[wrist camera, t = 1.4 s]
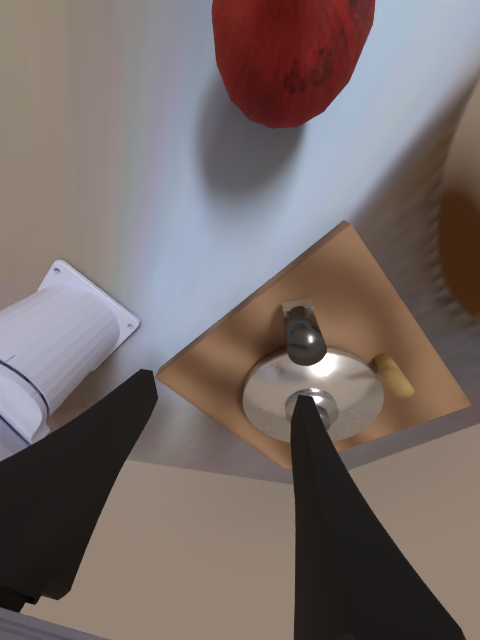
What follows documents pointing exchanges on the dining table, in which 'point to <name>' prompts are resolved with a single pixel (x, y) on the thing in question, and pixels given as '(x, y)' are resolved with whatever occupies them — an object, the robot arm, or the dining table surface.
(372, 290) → the base board
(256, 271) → the dining table surface
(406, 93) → the dining table surface
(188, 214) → the dining table surface
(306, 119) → the red oval fruit
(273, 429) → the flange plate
